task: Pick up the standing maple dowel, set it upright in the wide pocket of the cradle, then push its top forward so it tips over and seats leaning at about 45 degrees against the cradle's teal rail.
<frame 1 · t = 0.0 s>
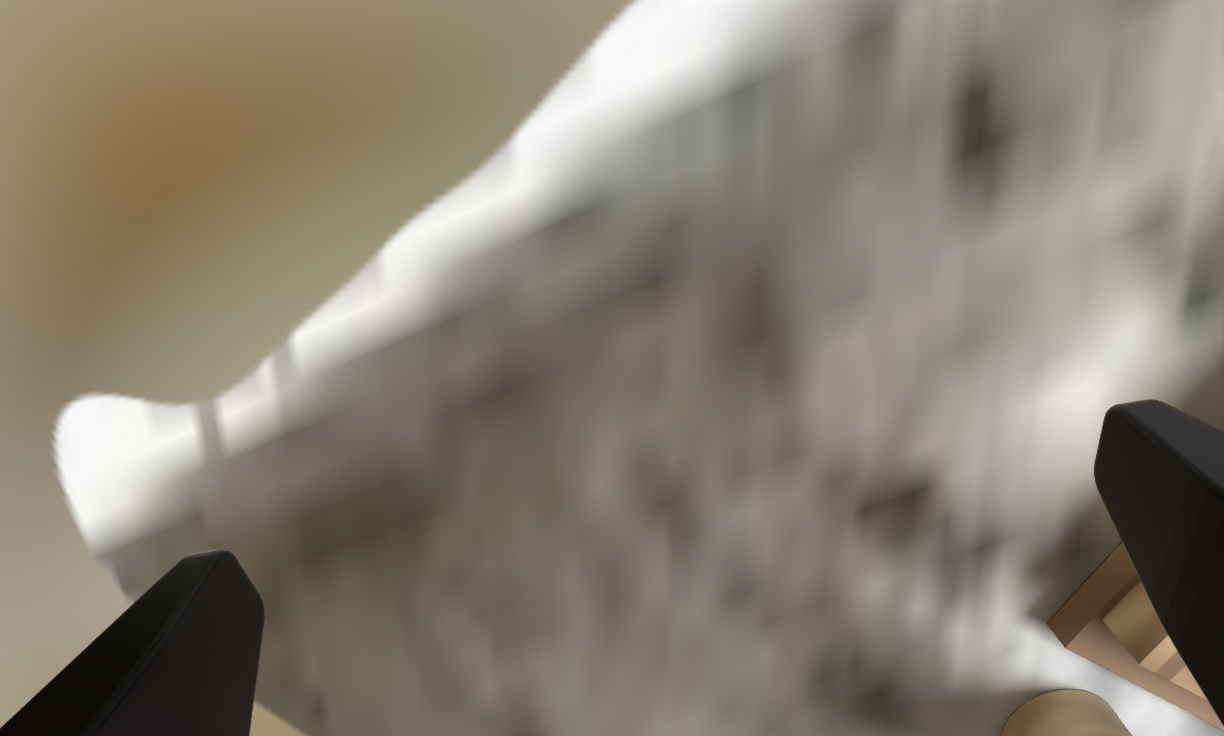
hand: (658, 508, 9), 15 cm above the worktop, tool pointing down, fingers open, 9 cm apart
peg: (1058, 734, 30), on the worktop
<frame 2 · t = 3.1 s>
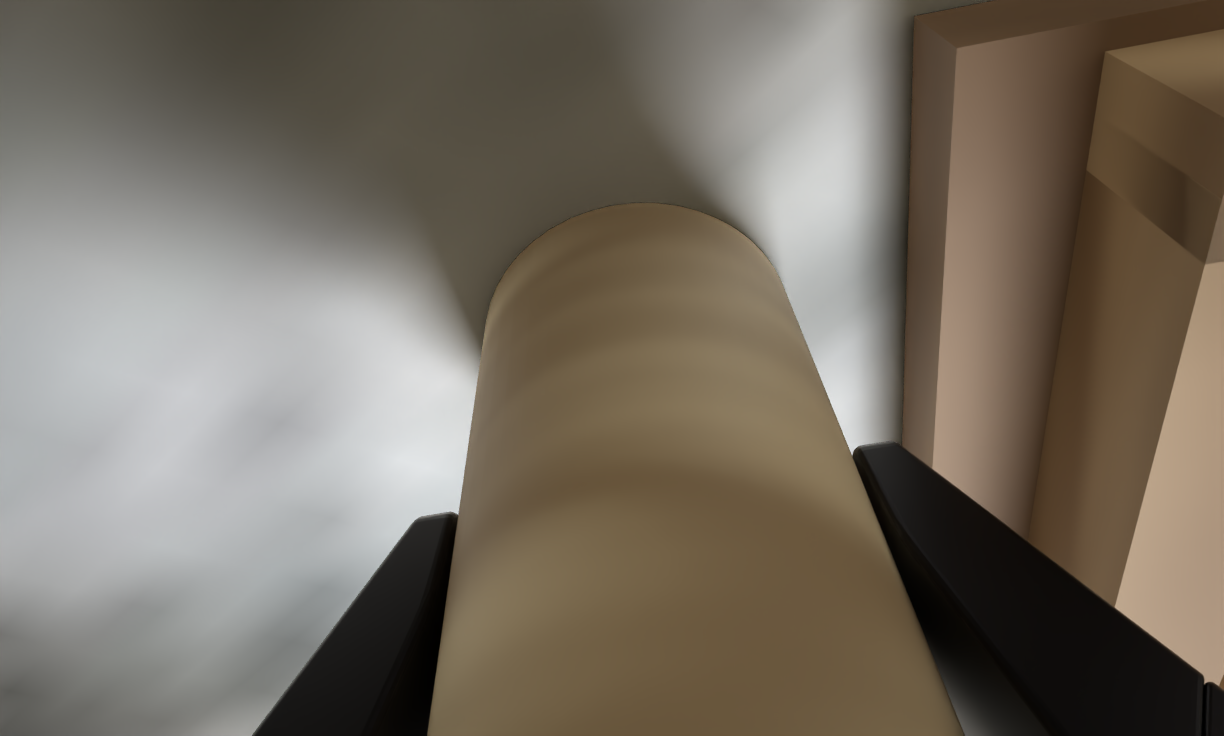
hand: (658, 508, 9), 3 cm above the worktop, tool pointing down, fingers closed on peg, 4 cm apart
peg: (638, 343, 11), on the worktop, touching gripper
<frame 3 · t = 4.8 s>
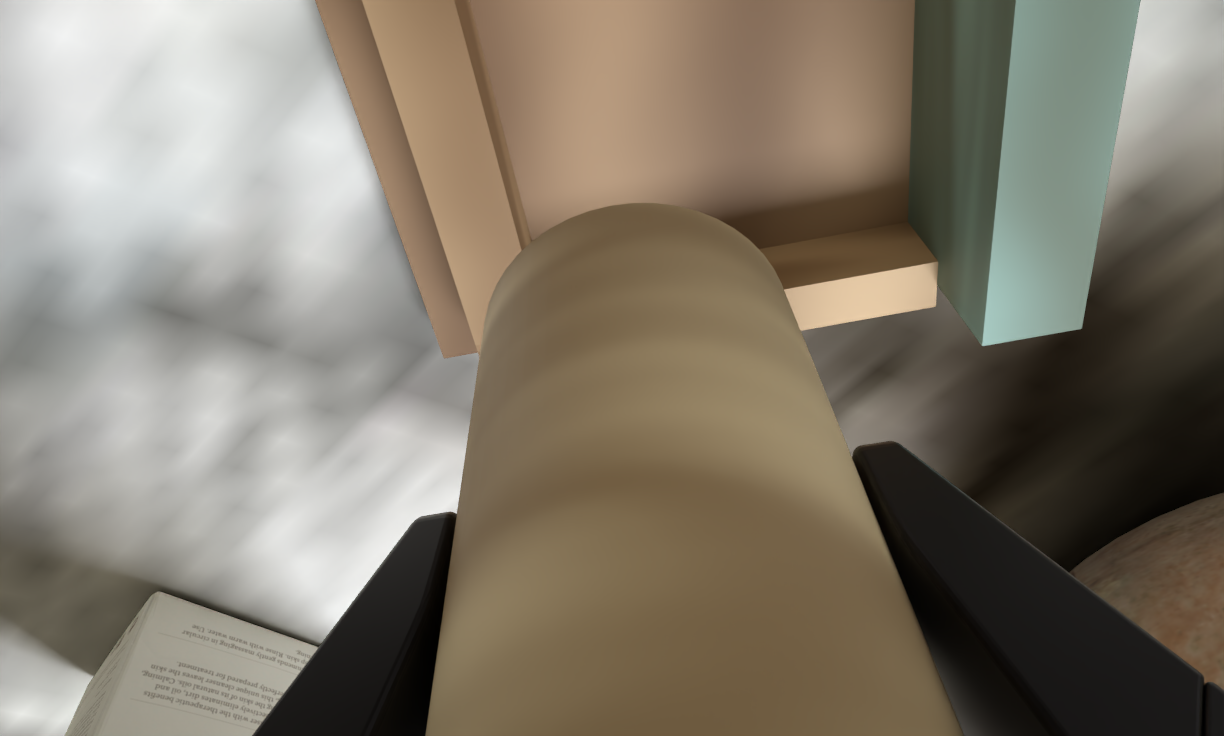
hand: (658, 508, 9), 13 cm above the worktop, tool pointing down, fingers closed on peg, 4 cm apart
skincare box: (241, 664, 31), on the worktop
peg: (637, 343, 11), point 10 cm above the worktop, touching gripper
cradle: (612, 95, 20), on the worktop
cooking pot: (1169, 567, 31), on the worktop
when the fingers open (5 cm above the worktop, at t = 6.7 s): peg stays where it is, resting on cradle.
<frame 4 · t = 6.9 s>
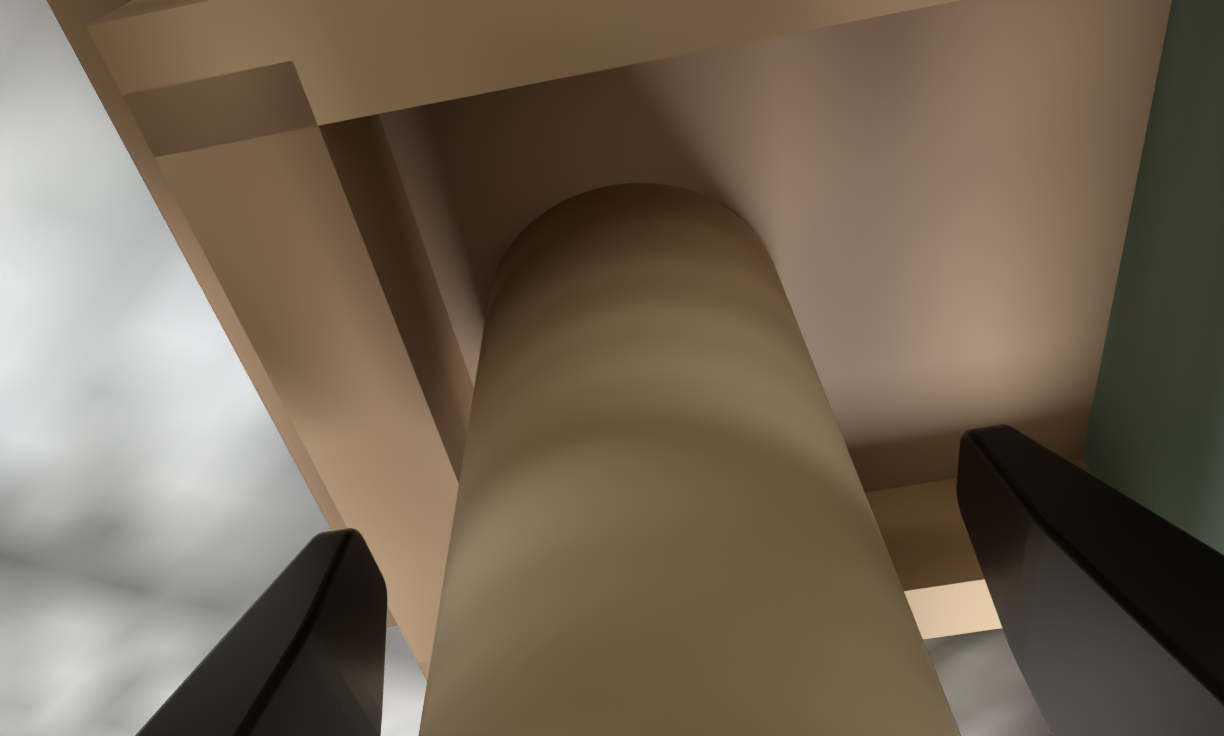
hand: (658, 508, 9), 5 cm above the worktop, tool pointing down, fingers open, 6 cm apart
peg: (635, 320, 12), point 1 cm above the worktop, touching cradle
cradle: (632, 276, 13), on the worktop
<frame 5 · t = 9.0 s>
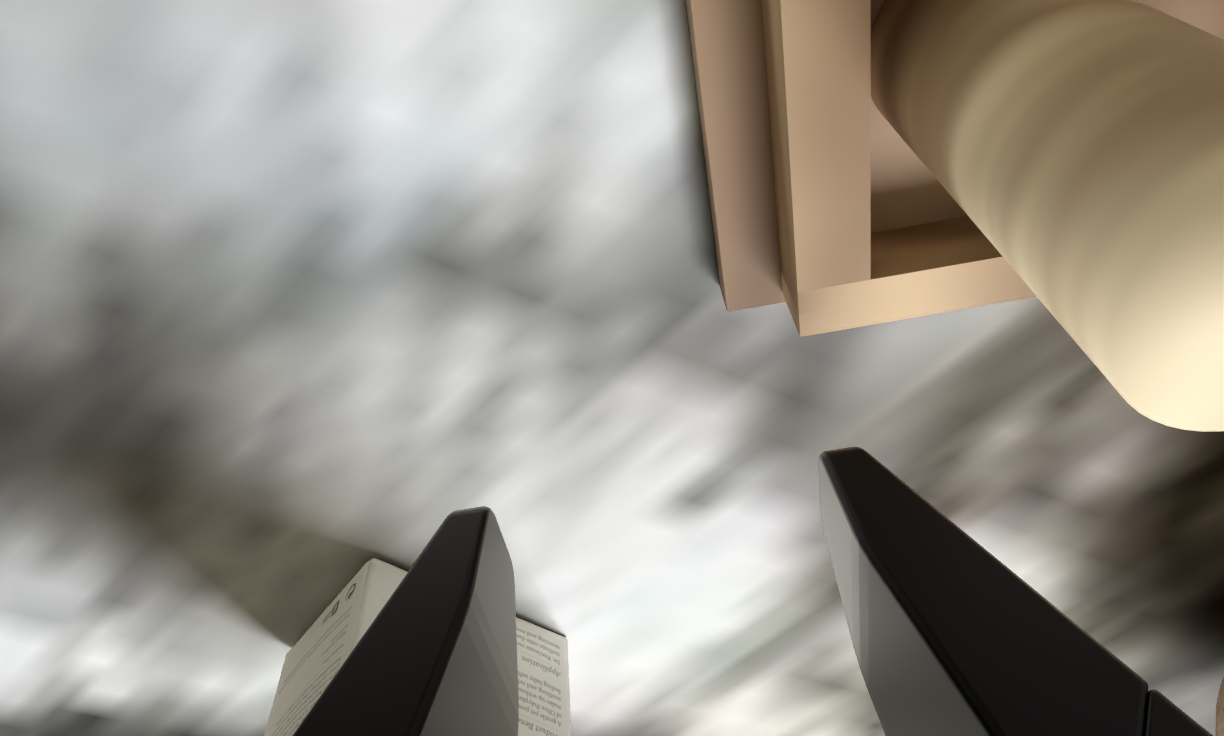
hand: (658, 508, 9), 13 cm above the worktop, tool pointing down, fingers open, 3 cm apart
skincare box: (436, 636, 31), on the worktop
peg: (961, 46, 18), point 1 cm above the worktop, touching cradle
cradle: (942, 31, 19), on the worktop
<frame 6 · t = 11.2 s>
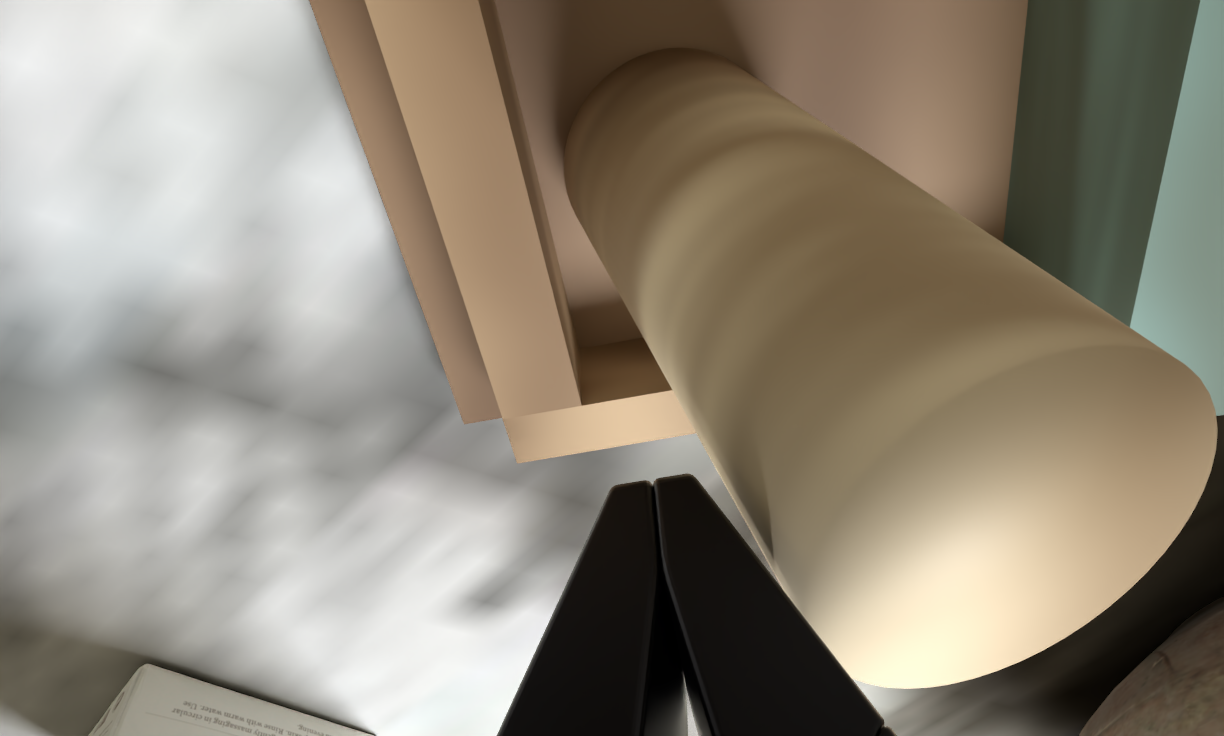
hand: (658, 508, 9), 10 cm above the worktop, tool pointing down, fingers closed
skincare box: (238, 735, 29), on the worktop
peg: (670, 161, 16), point 2 cm above the worktop, tilted 12°, touching cradle
cradle: (661, 130, 17), on the worktop
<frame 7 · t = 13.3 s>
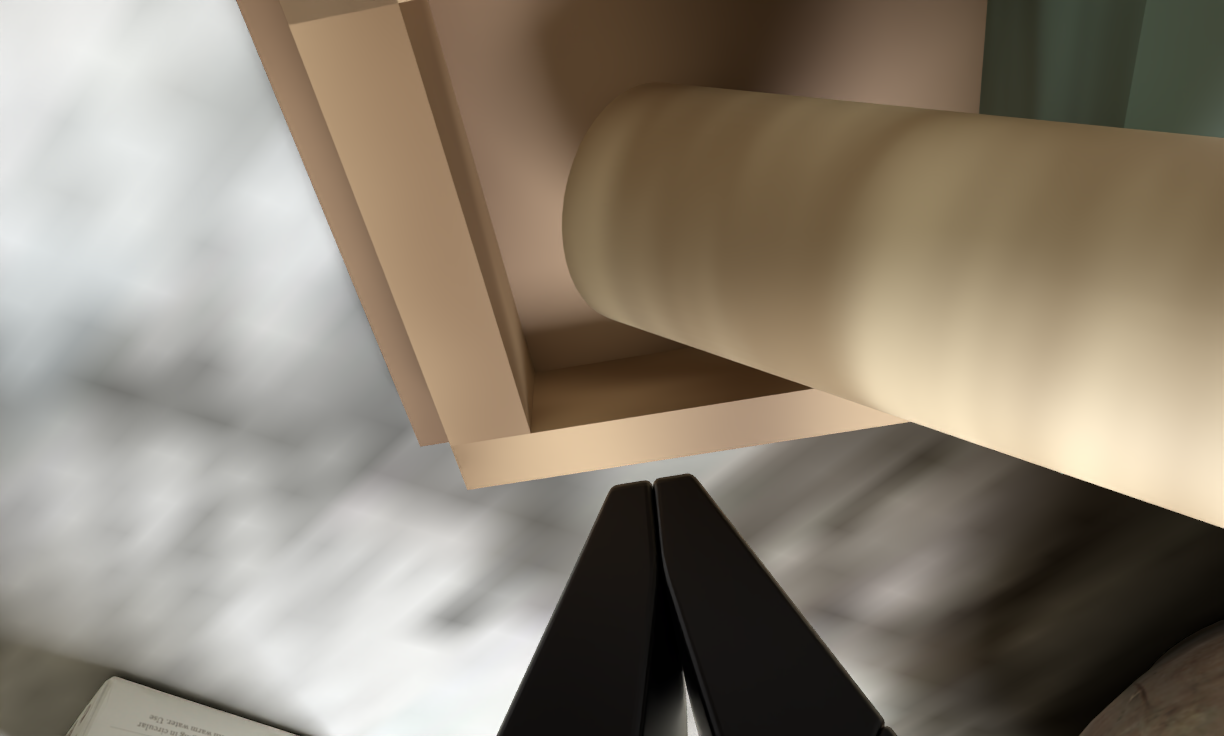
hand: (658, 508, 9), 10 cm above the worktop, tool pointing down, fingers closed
peg: (647, 206, 14), point 3 cm above the worktop, tilted 46°, touching cradle
cradle: (616, 153, 17), on the worktop
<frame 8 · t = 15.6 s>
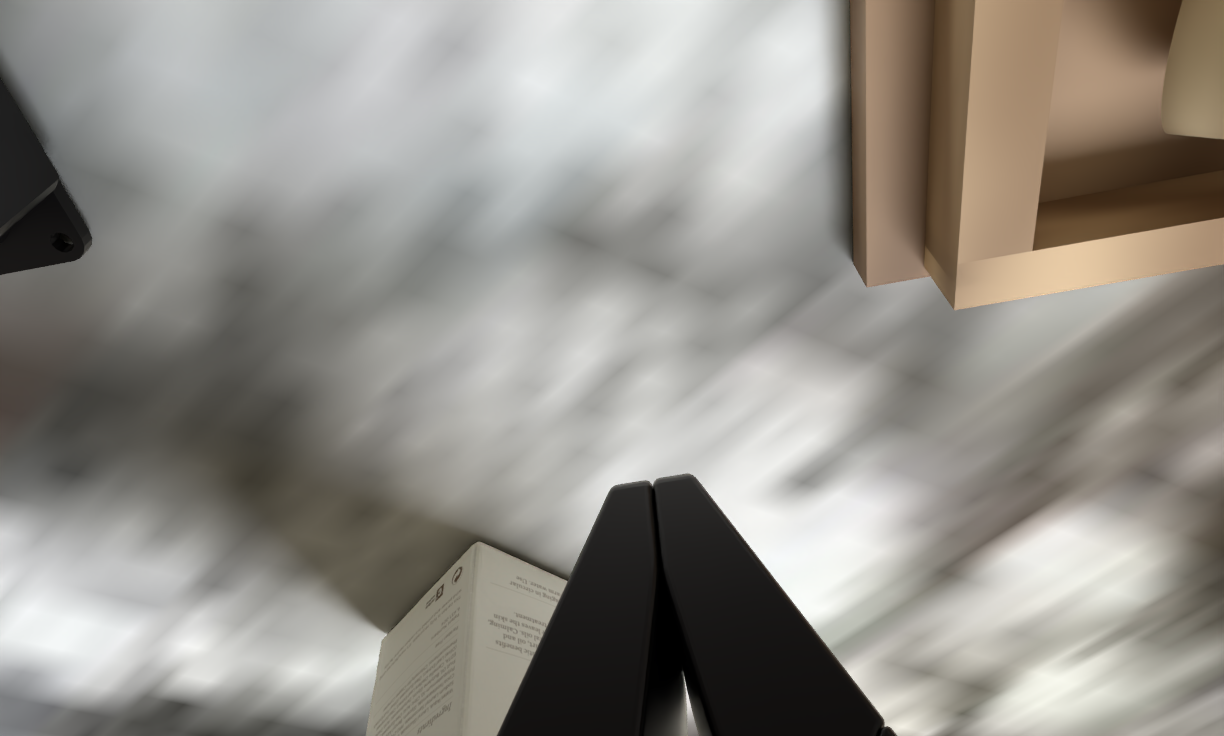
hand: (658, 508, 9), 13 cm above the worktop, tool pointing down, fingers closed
skincare box: (531, 621, 30), on the worktop
peg: (1198, 26, 16), point 3 cm above the worktop, tilted 46°, touching cradle
cradle: (1104, 0, 19), on the worktop
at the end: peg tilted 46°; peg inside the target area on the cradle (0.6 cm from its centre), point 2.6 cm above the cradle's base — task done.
